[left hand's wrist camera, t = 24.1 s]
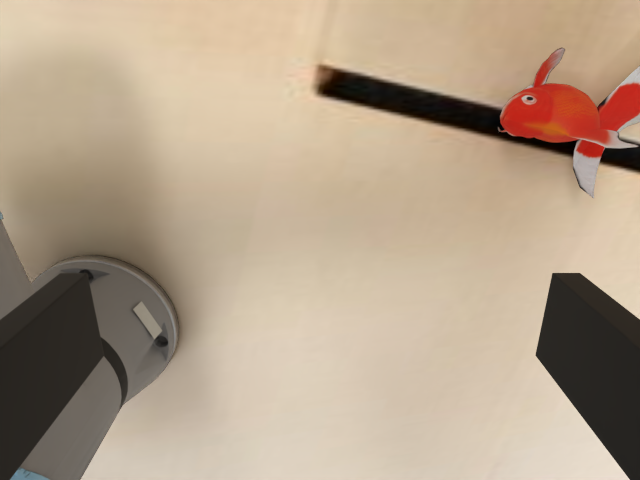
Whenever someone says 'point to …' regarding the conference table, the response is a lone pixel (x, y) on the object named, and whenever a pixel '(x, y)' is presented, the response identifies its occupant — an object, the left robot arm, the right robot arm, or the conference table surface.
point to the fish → (574, 118)
